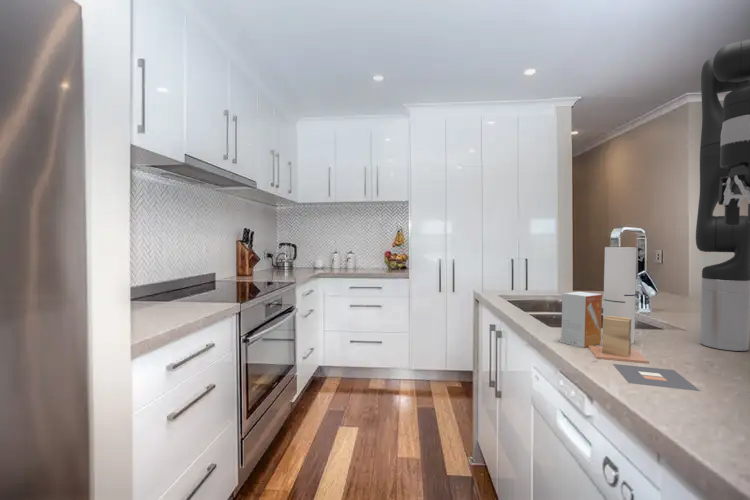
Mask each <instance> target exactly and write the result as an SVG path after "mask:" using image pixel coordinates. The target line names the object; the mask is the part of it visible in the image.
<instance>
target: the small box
mask: <svg viewBox="0 0 750 500" xmlns="http://www.w3.org/2000/svg"><path fill="white" fill-rule="evenodd" d="M561 295H562V297H561V298H562V299H561V302H562V303H561V333H560V335H561V336H560V338H561V339H560V342H561V343H562V344H566V345H570V346H573V347H579V348H588V345H591V346H598V345H601V342H602V341H601V340H602V339H601V335H602V334H601V333H602V311H603V309H602V307H603V305H602V303H603V294H601V293H593V292H587V291H572V292H565V293H562V294H561Z"/></svg>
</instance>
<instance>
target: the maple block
mask: <svg viewBox="0 0 750 500" xmlns="http://www.w3.org/2000/svg"><path fill="white" fill-rule="evenodd" d="M601 340H602V341H601V342H602V345H601V346H602V353H605V354H611V355H617V356H623V357H628V356H629V354H630V353H631V349H632V348H631V347H632V344H631V318H624V317H615V316H606V317H604V318H603V317H602V339H601Z"/></svg>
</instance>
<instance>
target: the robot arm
mask: <svg viewBox="0 0 750 500" xmlns="http://www.w3.org/2000/svg"><path fill="white" fill-rule="evenodd" d="M700 90H701V92H700V93H701V114H702V115H701V132H700V133H701V135H700V145H699V147H700V148H699V196H698V197H699V198H698V205H697V207H698V209H697V215H696V216H697V219H696V227H695V244H696V248H697V249H698V250H699V251H700V252H703V253H704V252H706V253H707V252H708V253H733V254H734V256H732V257H731V258H730V259H728V260H725V261H723V262H720V263H716V264H711V265H706V266H705V267H703V268H702V270H701V293H700V294H701V298H700V299H701V300H700V328H699V329H700V331H699V332H700V333H699V334H700V335H699V343H700V344H701V345H703V346H705V347H709V348H713V349H719V350H725V351H735V352H737V351H738V352H739V351H740V352H743V351H749V350H750V349H749V346H750V345H749V344H750V38H748V39H744V40H739V41H735V42H732V43H728V44H725V45H723V46H722V47H720V48H719V49H718V50H717V52H716V53H715V54H714V57H711V58H708V59H707V60H705V62H704V63H703V65H702V67H701V76H700ZM722 93H727V94H726V95H725V96H724V99H723V104H722V103H721V101H720V99H719V96H718V94H722ZM745 198H746V199H747V201H748V204H747V215H741V213H740V210H741V207H740V205H741V204H742V200H743V199H745ZM717 204H718V205H719V206H721V205H722V207H723V208H724V215H717V216H716V215H713V213H714V211H715V209H716V206H717Z"/></svg>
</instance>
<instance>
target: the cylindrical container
mask: <svg viewBox="0 0 750 500" xmlns="http://www.w3.org/2000/svg"><path fill="white" fill-rule="evenodd" d="M603 269H604V270H603V305H602V307H603V309H602V311H603V312H602V314H603V315H602V316H603V317H602V319H603V318H604V317H606V316H615V317H624V318H631V345H632V344H634V343H635V325H636V321H635V319H636V291H637V289H636V288H637V287H636V284H637V247H625V246H624V247H623V246H622V247H621V246H619V247H618V246H617V247H616V246H615V247H614V246H605V247H604V267H603Z"/></svg>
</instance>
